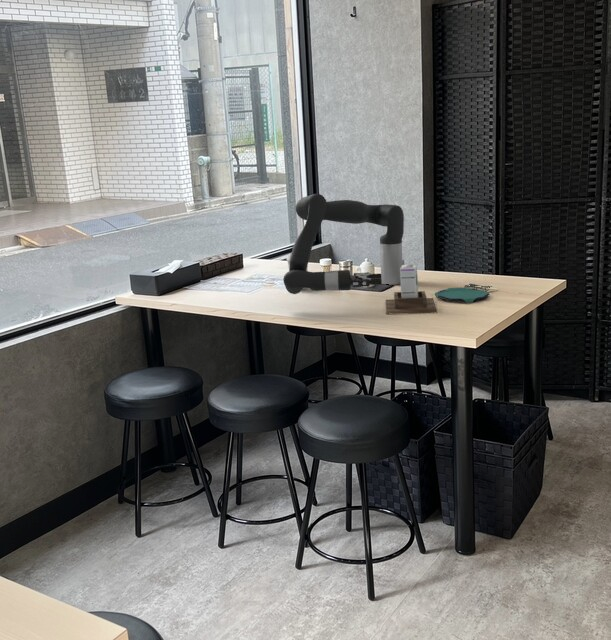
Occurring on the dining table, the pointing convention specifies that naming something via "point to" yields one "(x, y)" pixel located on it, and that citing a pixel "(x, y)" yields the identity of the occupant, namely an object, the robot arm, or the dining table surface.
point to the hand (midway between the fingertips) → (381, 278)
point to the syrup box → (409, 281)
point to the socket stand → (410, 304)
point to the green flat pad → (463, 293)
